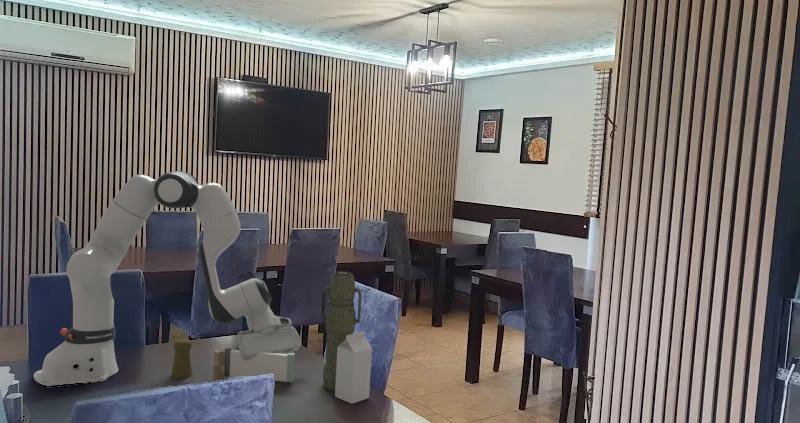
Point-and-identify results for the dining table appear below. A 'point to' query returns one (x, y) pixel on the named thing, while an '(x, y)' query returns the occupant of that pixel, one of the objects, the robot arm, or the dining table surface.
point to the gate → (260, 365)
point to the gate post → (218, 364)
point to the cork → (182, 359)
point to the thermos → (338, 320)
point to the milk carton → (353, 369)
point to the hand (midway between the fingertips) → (279, 366)
